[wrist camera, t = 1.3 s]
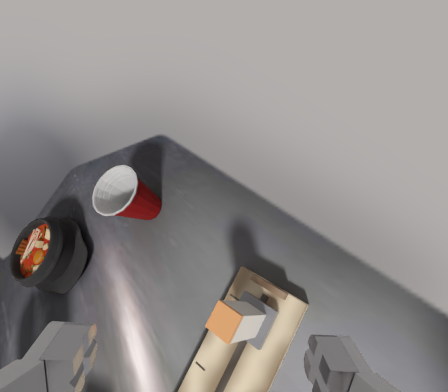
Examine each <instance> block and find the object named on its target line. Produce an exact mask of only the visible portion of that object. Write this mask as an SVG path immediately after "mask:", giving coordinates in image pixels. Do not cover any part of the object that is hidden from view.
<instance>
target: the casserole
mask: <svg viewBox="0 0 448 392" xmlns="http://www.w3.org/2000/svg"><path fill="white" fill-rule="evenodd" d="M87 256H88V249H87V246H86V244H85V242H84V240H83V238H82V234H81V230H80V227H79V225H78V224H77V223H76V222H75V221H74V220H72V219H68V218H65V219H60V220H58V219H57V218H55V217H45V218H40V219H36V220H34V221H32V222H31V223H29V224H28V225H27V226H26V227H25V228H24V229H23V231H22V232H21V233H20V235H19V236H18V238H17V240H16V242H15V244H14V247H13V249H12V253H11V257H10V272H11V275H12V277H13V278H14V279H15V280H16V281H18V282H19V283H20V284H22V285H23V286H25V287H33V286H36V288H38V289H39V290H40V291H43V292H52V291H54V292H57V293H60V294H64V293H67V292H68V291H69V290H70V289H71V288H72V287H73V286H74V285H75V284H76V282H77V281H78V279H79V278H80V276H81V274H82V272H83V270H84V267H85V264H86V261H87Z"/></svg>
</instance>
